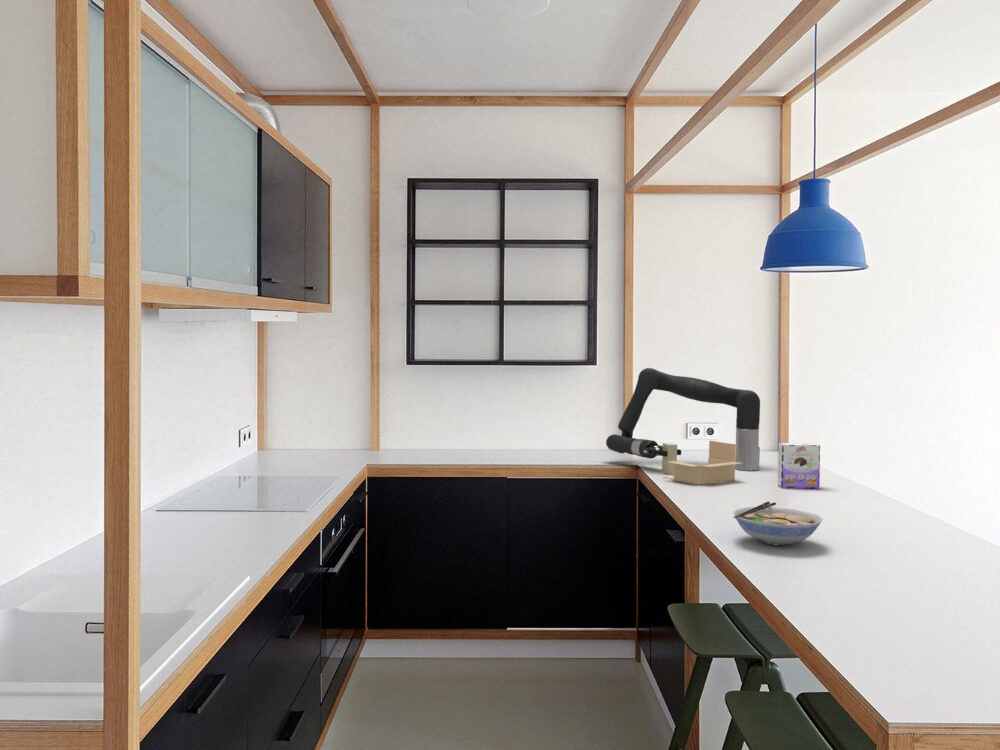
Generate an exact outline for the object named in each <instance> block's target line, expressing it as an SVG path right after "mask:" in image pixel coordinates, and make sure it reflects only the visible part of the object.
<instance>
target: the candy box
mask: <svg viewBox="0 0 1000 750" xmlns="http://www.w3.org/2000/svg"><path fill="white" fill-rule="evenodd" d="M777 460H778V461H777V486H778V487H779V488H780V489H791V488H797V489H798V490H799V489H800V490H801V489H802V490H804V489H805V490H810V489H812V490H820V479H821V478H820V476H821V475H820V472H821V471H820V469H821V468H820V467H821V464H820V463H821V445H820V444H817V443H815V442H813V443H809V442H808V443H807V442H806V443H805V442H804V443H802V442H778V455H777Z"/></svg>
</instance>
